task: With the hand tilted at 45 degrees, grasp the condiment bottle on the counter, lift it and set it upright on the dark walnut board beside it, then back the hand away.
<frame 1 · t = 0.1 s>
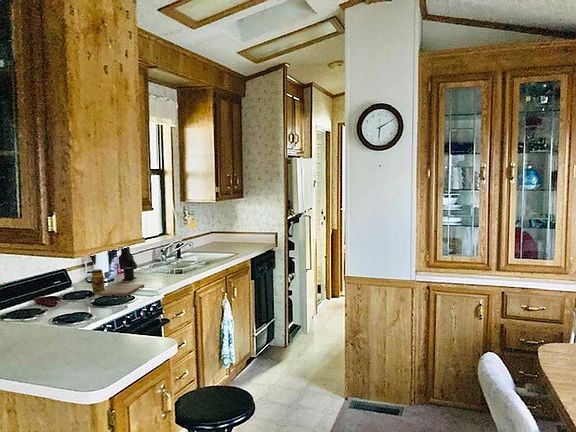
hand: (102, 264, 278), 15 cm above the worktop, tool pointing down, fingers open, 9 cm apart
walnut board: (122, 291, 277), on the worktop
condiment: (97, 292, 278), on the worktop
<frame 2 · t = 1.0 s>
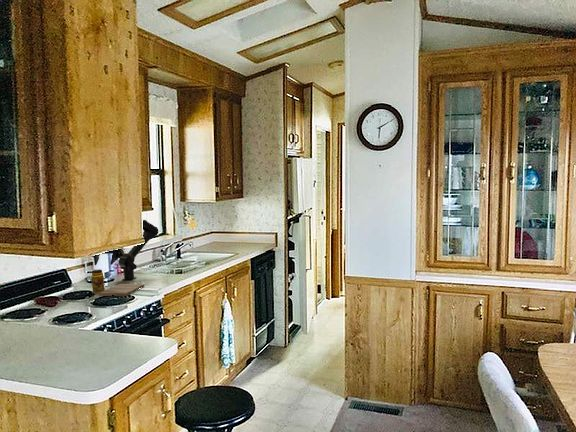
hand: (103, 264, 285), 13 cm above the worktop, tool tilted 45°, fingers open, 9 cm apart
nothing on the worktop moved.
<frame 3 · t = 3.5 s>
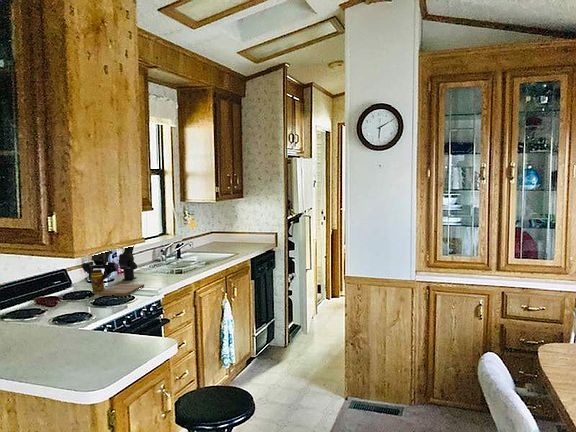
hand: (95, 280, 276), 7 cm above the worktop, tool tilted 45°, fingers open, 7 cm apart
condiment: (97, 291, 278), on the worktop, touching gripper
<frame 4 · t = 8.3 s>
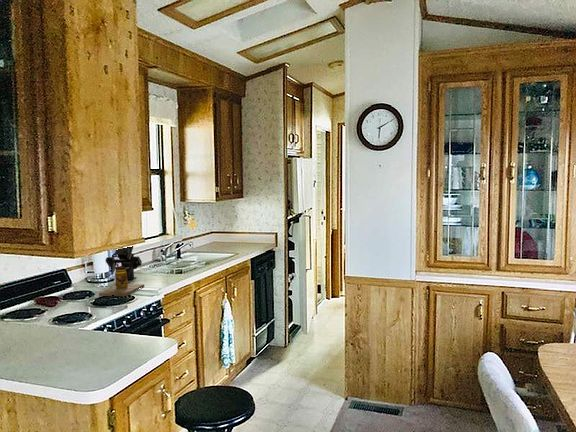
hand: (120, 274, 275), 10 cm above the worktop, tool tilted 45°, fingers open, 9 cm apart
condiment: (121, 288, 277), point 1 cm above the worktop, touching walnut board
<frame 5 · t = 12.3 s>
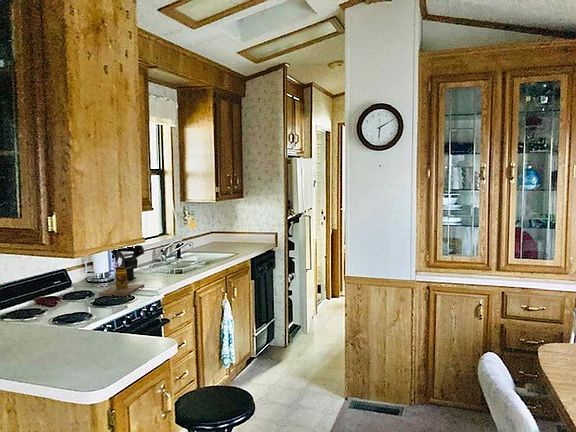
hand: (123, 262, 289), 14 cm above the worktop, tool tilted 45°, fingers open, 9 cm apart
nothing on the worktop moved.
at the end: condiment inside the target area on the walnut board (0.6 cm from its centre), point 1.3 cm above the walnut board's base; condiment tilted 0°; the gripper is holding nothing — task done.
